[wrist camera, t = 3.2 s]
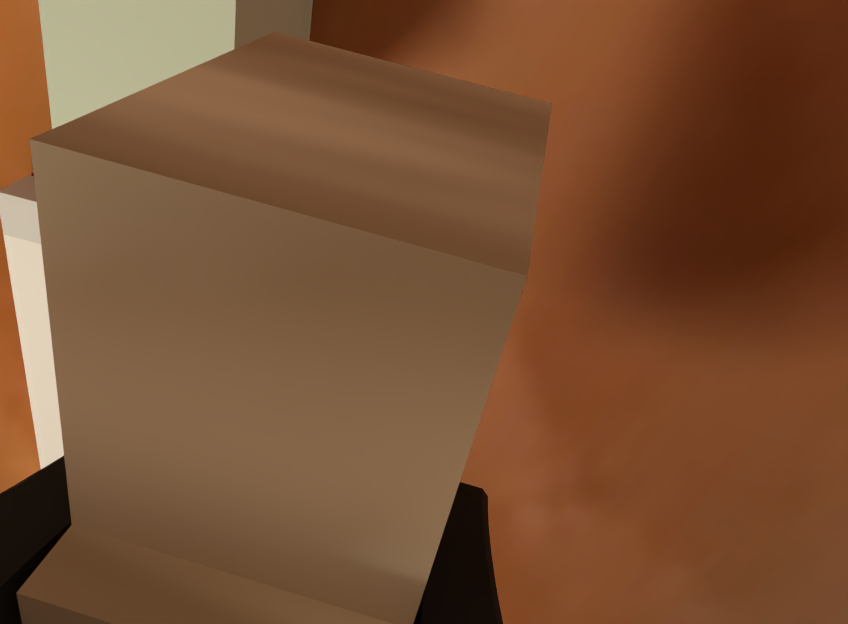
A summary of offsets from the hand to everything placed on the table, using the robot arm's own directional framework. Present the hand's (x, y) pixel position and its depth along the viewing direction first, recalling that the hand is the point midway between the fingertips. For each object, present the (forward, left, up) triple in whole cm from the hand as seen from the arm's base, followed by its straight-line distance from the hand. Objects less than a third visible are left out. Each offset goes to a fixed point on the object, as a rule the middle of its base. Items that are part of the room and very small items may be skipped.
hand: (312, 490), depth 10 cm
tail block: (+4, +5, -8) cm, 11 cm away
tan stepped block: (0, 0, -2) cm, 2 cm away
